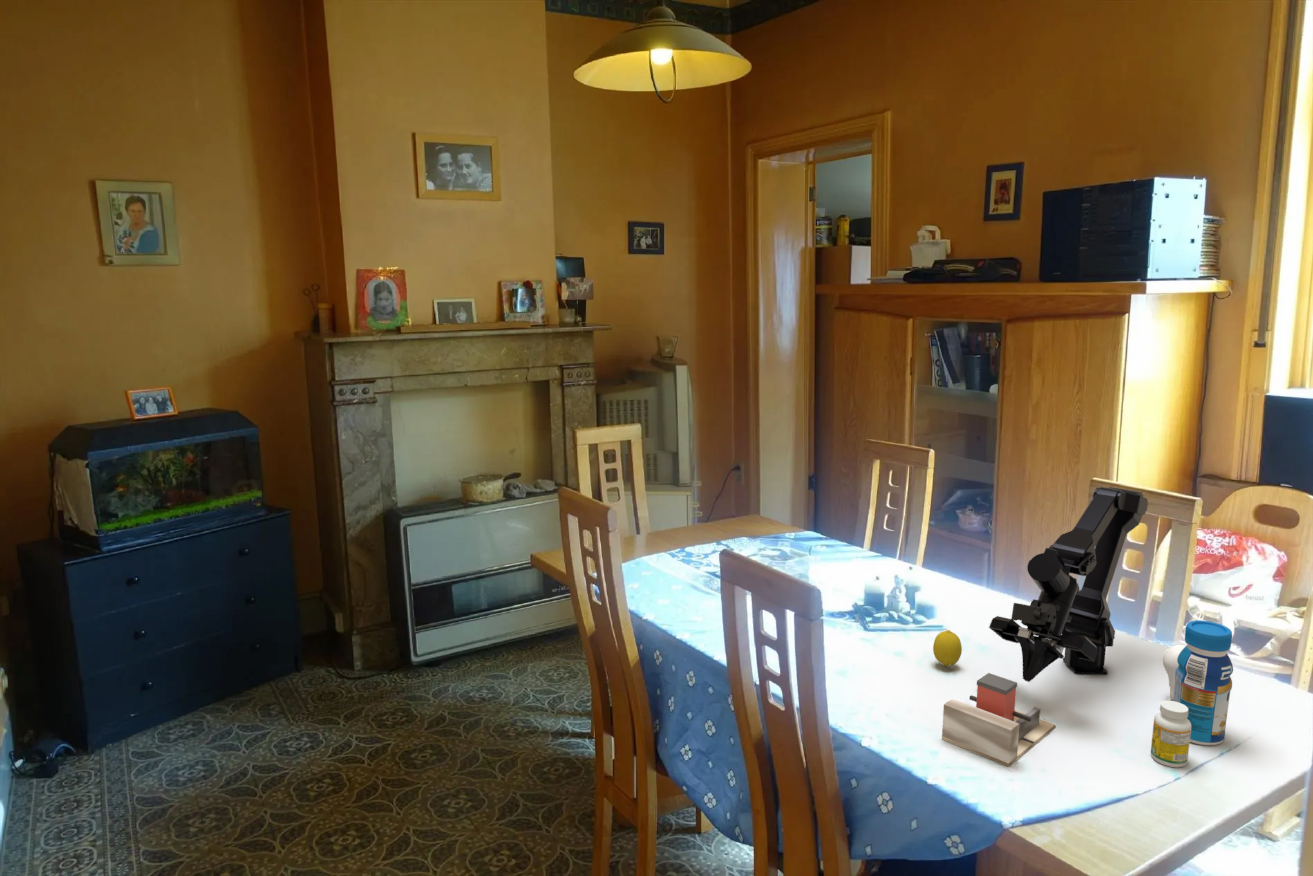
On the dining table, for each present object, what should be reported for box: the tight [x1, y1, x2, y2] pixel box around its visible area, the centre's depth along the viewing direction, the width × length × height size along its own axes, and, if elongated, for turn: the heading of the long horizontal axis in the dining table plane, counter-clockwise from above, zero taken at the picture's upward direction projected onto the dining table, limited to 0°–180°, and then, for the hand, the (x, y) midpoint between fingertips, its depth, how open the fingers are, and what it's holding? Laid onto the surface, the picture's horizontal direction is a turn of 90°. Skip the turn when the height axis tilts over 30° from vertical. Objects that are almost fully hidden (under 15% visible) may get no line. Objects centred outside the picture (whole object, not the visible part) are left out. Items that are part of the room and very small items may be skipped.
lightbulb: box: [1161, 644, 1187, 700], centre depth 164 cm, size 6×6×11 cm
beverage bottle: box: [1172, 619, 1234, 746], centre depth 152 cm, size 8×8×20 cm
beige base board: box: [941, 698, 1056, 768], centre depth 154 cm, size 18×12×7 cm, turn 133°
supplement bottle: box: [1150, 700, 1191, 768], centre depth 145 cm, size 5×5×10 cm
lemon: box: [932, 629, 963, 668], centre depth 180 cm, size 6×6×8 cm
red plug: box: [969, 672, 1032, 722], centre depth 152 cm, size 4×11×10 cm, turn 43°
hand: (1026, 680), depth 160 cm, fingers closed
